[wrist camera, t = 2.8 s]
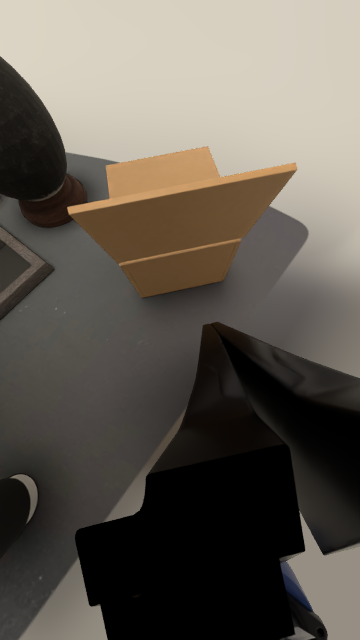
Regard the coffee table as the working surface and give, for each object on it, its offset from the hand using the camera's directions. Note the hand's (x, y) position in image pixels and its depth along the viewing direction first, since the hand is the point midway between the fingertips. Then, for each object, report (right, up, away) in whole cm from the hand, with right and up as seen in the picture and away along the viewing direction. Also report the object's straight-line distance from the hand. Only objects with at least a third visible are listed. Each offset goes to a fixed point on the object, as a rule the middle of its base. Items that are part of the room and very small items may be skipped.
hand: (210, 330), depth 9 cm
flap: (-2, +7, +2) cm, 8 cm away
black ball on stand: (-24, +22, +19) cm, 37 cm away
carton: (-3, +11, +15) cm, 19 cm away
